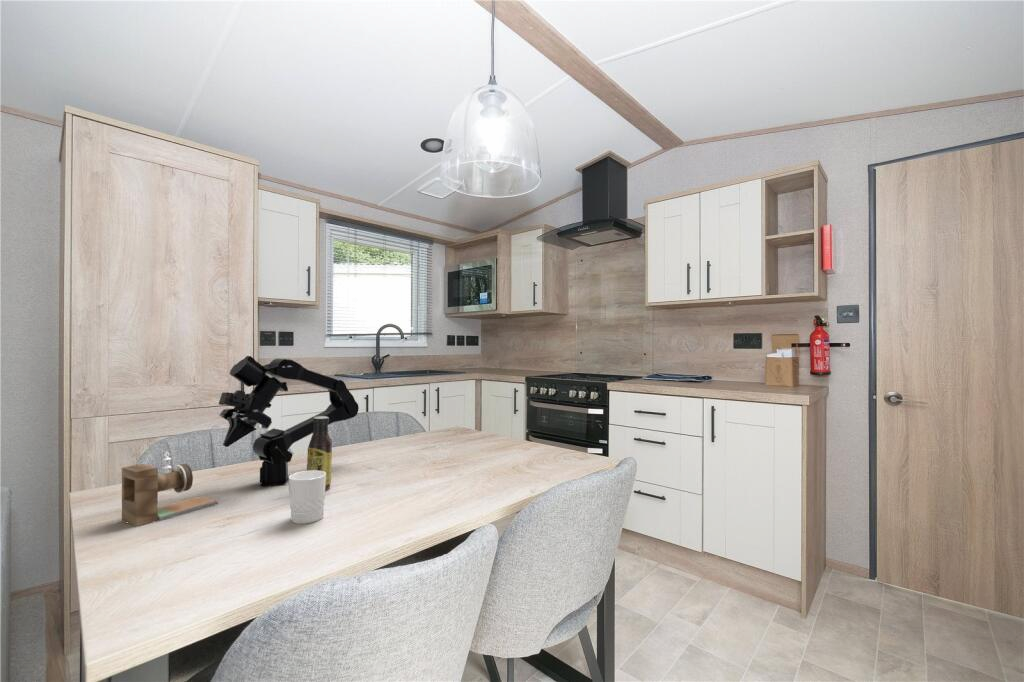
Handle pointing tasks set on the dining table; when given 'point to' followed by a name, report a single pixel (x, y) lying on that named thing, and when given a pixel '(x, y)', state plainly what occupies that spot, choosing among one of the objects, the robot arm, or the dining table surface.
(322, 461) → the sauce bottle
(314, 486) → the white cup
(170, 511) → the board
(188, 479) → the peg
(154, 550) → the dining table surface
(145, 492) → the block
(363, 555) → the dining table surface
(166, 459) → the chess piece
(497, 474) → the dining table surface
